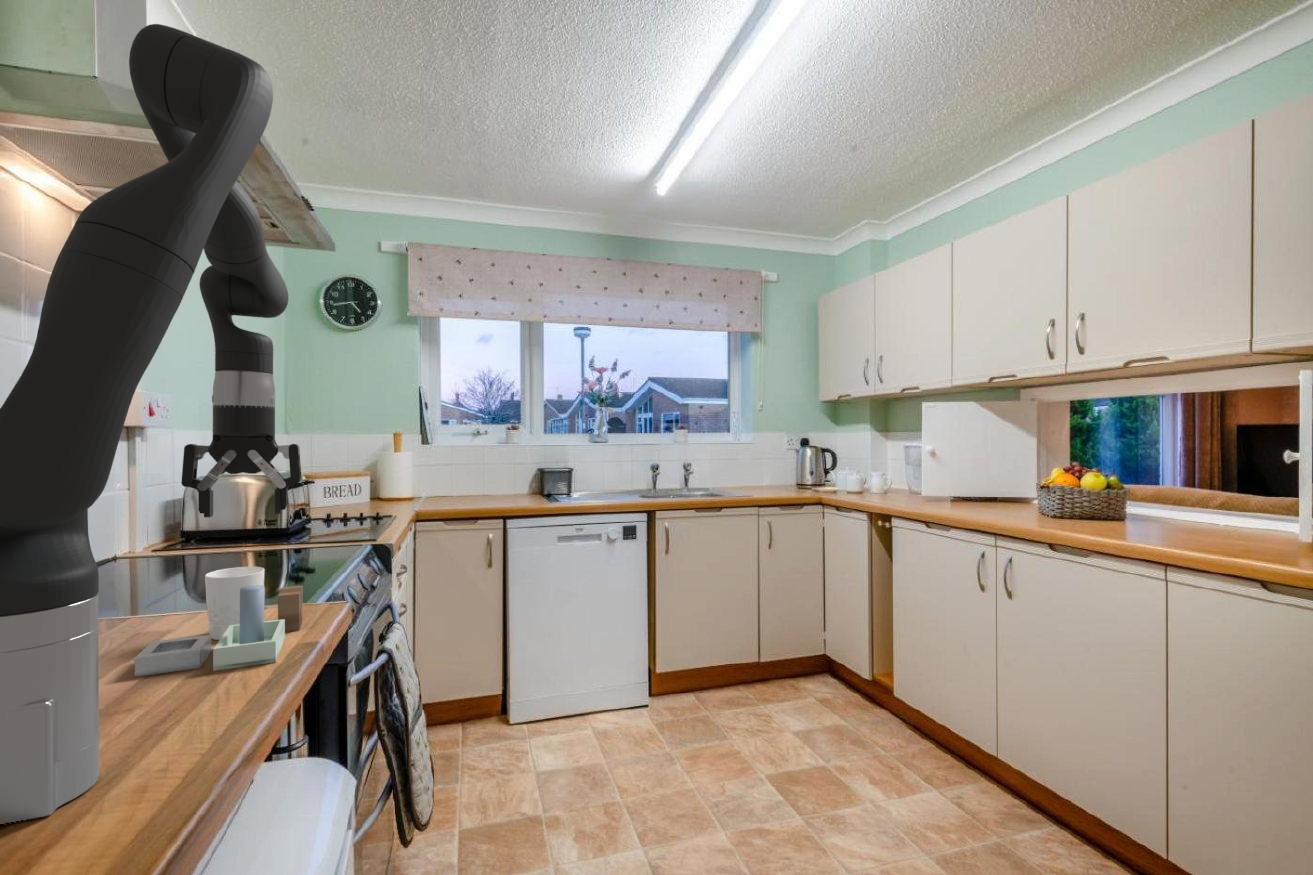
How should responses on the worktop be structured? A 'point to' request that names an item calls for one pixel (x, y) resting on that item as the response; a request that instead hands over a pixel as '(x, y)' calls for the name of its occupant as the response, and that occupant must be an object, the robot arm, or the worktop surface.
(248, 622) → the slate-blue dowel
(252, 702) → the worktop surface
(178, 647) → the gray tray
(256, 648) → the pale green tray
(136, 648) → the worktop surface
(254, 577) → the white cup
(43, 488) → the robot arm
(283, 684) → the worktop surface
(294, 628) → the walnut block
